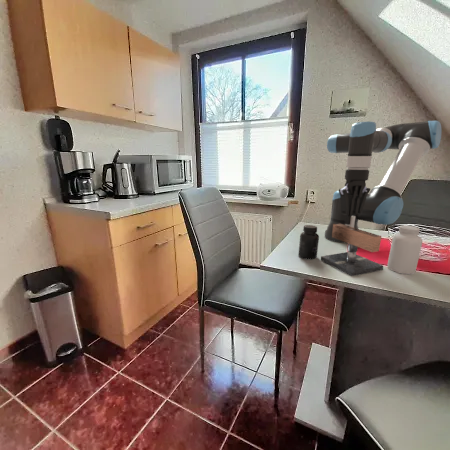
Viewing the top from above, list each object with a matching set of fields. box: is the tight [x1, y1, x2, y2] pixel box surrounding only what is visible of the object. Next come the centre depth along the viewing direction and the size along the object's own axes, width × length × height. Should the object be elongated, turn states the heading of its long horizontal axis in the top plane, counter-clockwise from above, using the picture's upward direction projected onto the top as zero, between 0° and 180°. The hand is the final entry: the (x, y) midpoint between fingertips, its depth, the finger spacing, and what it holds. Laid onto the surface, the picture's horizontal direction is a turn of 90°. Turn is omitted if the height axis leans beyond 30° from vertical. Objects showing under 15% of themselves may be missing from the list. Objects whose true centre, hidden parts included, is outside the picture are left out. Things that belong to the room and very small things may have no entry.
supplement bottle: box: [298, 224, 320, 260], centre depth 93 cm, size 7×7×12 cm
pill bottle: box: [386, 224, 423, 275], centre depth 82 cm, size 8×8×15 cm
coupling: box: [332, 223, 382, 253], centre depth 85 cm, size 3×17×8 cm, turn 20°
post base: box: [320, 250, 384, 277], centre depth 87 cm, size 14×14×5 cm
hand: (348, 232), depth 93 cm, fingers closed
